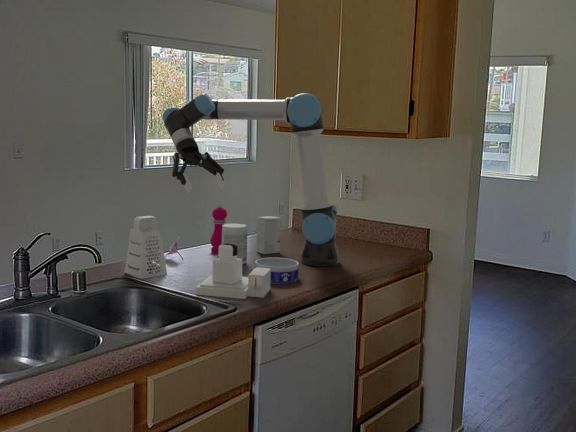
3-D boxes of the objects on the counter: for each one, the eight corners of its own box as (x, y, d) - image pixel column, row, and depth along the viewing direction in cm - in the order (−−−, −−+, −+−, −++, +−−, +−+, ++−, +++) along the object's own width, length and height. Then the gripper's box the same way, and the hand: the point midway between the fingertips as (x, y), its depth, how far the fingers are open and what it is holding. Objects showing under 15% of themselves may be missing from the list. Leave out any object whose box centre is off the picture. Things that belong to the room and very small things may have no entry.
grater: (167, 274, 227) (167, 217, 223) (141, 278, 219) (141, 220, 216) (150, 268, 234) (150, 213, 231) (124, 272, 226) (124, 216, 223)
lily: (176, 258, 256) (164, 237, 254) (199, 250, 251) (187, 229, 248) (161, 273, 246) (148, 252, 244) (184, 265, 241) (171, 243, 238)
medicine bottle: (222, 277, 213) (223, 241, 211) (242, 280, 210) (243, 243, 209) (212, 282, 207) (212, 245, 205) (232, 285, 204) (232, 247, 202)
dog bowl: (286, 272, 237) (286, 255, 236) (306, 282, 223) (306, 265, 222) (247, 275, 230) (248, 258, 229) (265, 286, 216) (266, 268, 215)
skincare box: (263, 254, 263) (264, 218, 261) (255, 251, 268) (256, 216, 266) (280, 252, 268) (281, 217, 266) (272, 249, 273) (273, 215, 271)
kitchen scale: (272, 287, 214) (272, 266, 213) (261, 300, 199) (261, 278, 198) (211, 282, 218) (211, 261, 217) (195, 294, 203) (196, 272, 202)
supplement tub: (251, 264, 245) (252, 226, 243) (228, 267, 240) (229, 228, 237) (238, 259, 253) (239, 222, 251) (216, 261, 248) (217, 224, 245)
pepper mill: (229, 251, 268) (230, 203, 265) (225, 254, 261) (226, 205, 258) (212, 249, 269) (213, 202, 266) (207, 253, 262) (208, 204, 259)
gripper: (210, 150, 244) (232, 194, 235) (150, 151, 228) (171, 198, 219) (218, 137, 239) (241, 181, 230) (157, 136, 223) (179, 184, 214)
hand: (207, 190), depth 225 cm, fingers open, 13 cm apart
